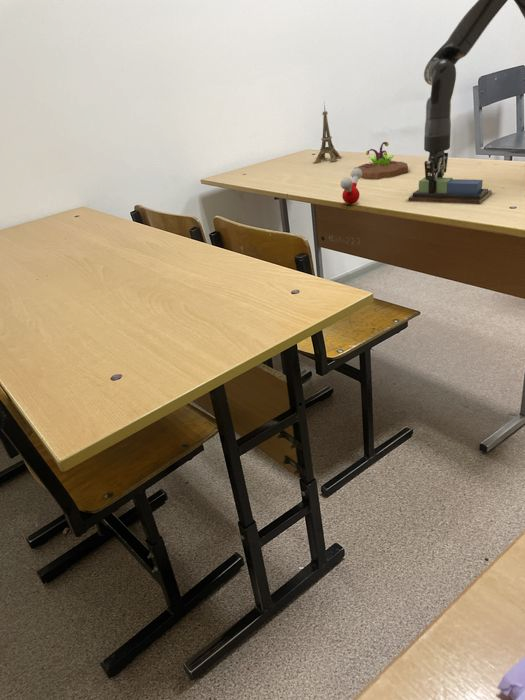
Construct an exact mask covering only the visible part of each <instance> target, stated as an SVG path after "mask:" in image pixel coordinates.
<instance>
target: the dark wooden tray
mask: <svg viewBox="0 0 525 700" xmlns="http://www.w3.org/2000/svg"><path fill="white" fill-rule="evenodd" d="M492 191H493V190H492V189H489V188H482V192H480V193H479V194H478V195H477V194H447V193H419V188H418V189H417V190H415V191H413V192H412V194H411V196H409V197H408V202H420V203H421V202H425V203H447V204H450V203H451V204H471V205H481V203H483V202H484V201H485V200H486V199H487V198H488V197H489V196H491V195H492V193H493V192H492Z"/></svg>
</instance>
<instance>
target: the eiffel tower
mask: <svg viewBox="0 0 525 700" xmlns="http://www.w3.org/2000/svg"><path fill="white" fill-rule="evenodd" d="M323 107H324V108H323V109H324V111H322V113H321V115H322V116H323V120H322V121H323V122H322V137H321V138H320V139H321V146H320V149H319V150H320V151H319V152H318V155H317V157H316V158H315V161H314V162H313V164H320V163H322V160H325V159H326V154H329V157H330V163H337V162H338V159H340V160H341V159H342V157H343V156H341V155H340V154H339V152H338V151H337V150H336V148H335V146H334V144H333V143H332V141H333V140H332V139H333V137H332V135H331V133H330V127H329V121H328V114H329V113H328V111H326V105H325V102H324V103H323Z"/></svg>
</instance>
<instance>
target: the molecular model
mask: <svg viewBox="0 0 525 700" xmlns="http://www.w3.org/2000/svg"><path fill="white" fill-rule="evenodd" d="M354 168H355V169H354ZM354 168H353V169H352V170H351V172H350V176H351V177H352V178H350V177H347V176H346V177H344V178H342V179H341V181H340V187H341V188H342V189H343V191H342V194H341V195H342V200H343V201H344V202H345V203H346V204H347V205H354V204H355V203H357V202H358V201H359V199H360V196H361V195H360V191H359V189H358V188H357V186H358V181H359V180H360V179H361V178H363V177H362V170H361V169H359V168H356V167H354Z"/></svg>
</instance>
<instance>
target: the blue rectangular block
mask: <svg viewBox="0 0 525 700" xmlns="http://www.w3.org/2000/svg"><path fill="white" fill-rule="evenodd" d="M483 182H484V180H483V179H466V178H465V179H463V178H462V179H460V178H458V179H457V178H453V180H451V181H450V182H449V183H448V185H447V194H477V195H478V194H479V193H480V192H482V189H483V184H484V183H483Z"/></svg>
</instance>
